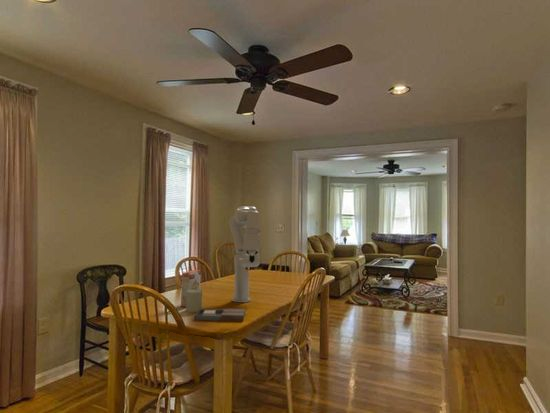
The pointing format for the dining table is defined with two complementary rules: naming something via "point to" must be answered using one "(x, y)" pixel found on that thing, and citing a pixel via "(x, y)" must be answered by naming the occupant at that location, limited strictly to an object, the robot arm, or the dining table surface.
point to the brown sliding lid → (233, 314)
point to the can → (194, 300)
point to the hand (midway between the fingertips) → (251, 262)
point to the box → (200, 316)
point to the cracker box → (189, 284)
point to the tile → (209, 313)
